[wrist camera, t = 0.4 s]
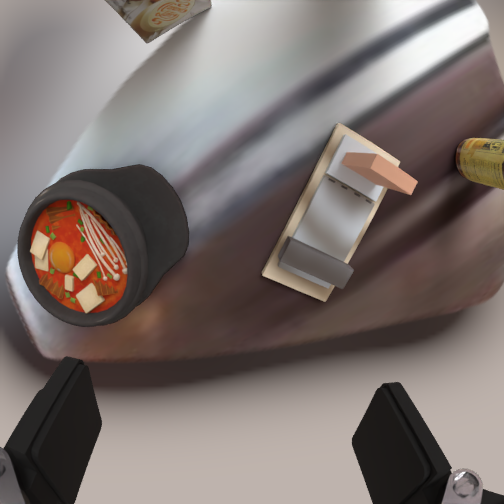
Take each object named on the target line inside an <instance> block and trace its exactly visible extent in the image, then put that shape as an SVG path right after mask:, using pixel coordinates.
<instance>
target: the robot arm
mask: <svg viewBox="0 0 504 504" xmlns="http://www.w3.org/2000/svg"><path fill="white" fill-rule="evenodd" d="M101 426H102V420H101V416H100V412H99V409H98V405H97V401H96V397H95V394H94V390H93V385H92V381H91V377H90V372H89V368H88V366H86V365H84V362H83V361H82V360H80V359H76V358H72V357H68V356H66V357H64V359H63V360H62V361H61V363H60V364H59V366H58V367H57V369H56V370H55V372H54V373H53V374H52V376H51V378H50V379H49V381H48V382H47V383H46V385H45V387H44V388H43V389H42V390H40V391H39V392H38V393H37V394H36V396H35V397H34V399H33V401H32V402H31V404H30V405H29V407H28V408H27V410H26V412H25V413H24V415H23V416H22V418H21V420H20V421H19V423H18V425H17V426H16V428H15V430H14V431H13V433H12V435H11V436H10V438H9V440H8V442H7V443H6V445H5V447H4V449H3V448H1V447H0V504H74V503H75V500H76V497H77V494H78V491H79V488H80V485H81V482H82V479H83V476H84V474H85V471H86V467H87V465H88V462H89V460H90V457H91V454H92V451H93V449H94V446H95V443H96V441H97V438H98V435H99V433H100V430H101ZM352 446H353V449H354V452H355V454H356V457H357V460H358V463H359V466H360V468H361V471H362V474H363V477H364V479H365V482H366V485H367V488H368V491H369V494H370V497H371V500H372V502H373V504H504V495H500V494H497V493H494V492H490V491H487V490H484V489H483V483H482V480H481V478H480V477H479V475H478V474H476V473H475V472H474V471H472V470H470V469H464V468H463V469H458V470H456V471H454V472H453V473H451V471H450V469H451V468H452V467H451V466H450V464H449V462H448V460H447V459H446V457H445V455H444V453H443V452H442V450H441V448H440V447H439V445H438V443H437V441H436V440H435V438H434V436H433V435H432V433H431V431H430V430H429V428H428V426H427V425H426V423H425V421H424V420H423V418H422V417H421V415H420V413H419V412H418V410H417V408H416V407H415V405H414V404H413V402H412V400H411V399H410V397H409V396H408V394H407V392H406V391H405V389H404V388H403V386H402V385H401V383H399V382H394V383H384V384H382V386H381V387H380V388H378V389H377V390H376V392H375V394H374V397H373V398H372V400H371V403H370V405H369V407H368V409H367V411H366V413H365V415H364V417H363V419H362V420H361V422H360V424H359V426H358V428H357V430H356V432H355V434H354V435H353V438H352Z"/></svg>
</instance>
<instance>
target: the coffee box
mask: <svg viewBox="0 0 504 504" xmlns="http://www.w3.org/2000/svg"><path fill="white" fill-rule="evenodd" d="M105 1H106V2H107V3H108V4H109V5H110V6H111V7H112V8H113V9H114V10H115V11H116V12H117V13H118V14H119V15H120V16H121V17H122V18H123V19H124V20H125V21H126V22H127V23H128V24H129V25H130V26H131V28H132V29H133V30H134V31H135V32H136V33H137V34H138V35H139V36H140V37H141V38H142V39H143V40H144V41H145V42H146V43H149V42H151V41H152V40H154V39H156V38H157V37H159V36H160V35H162V34H164V33H165V32H167V31H169V30H170V29H172V28H174V27H175V26H177V25H179V24H181V23H182V22H184V21H186V20H188V19H189V18H191V17H193V16H195V15H197V14H199V13H201V12H202V11H204V10H206V9H208V8H210V7H211V6H212V5H211V0H105Z"/></svg>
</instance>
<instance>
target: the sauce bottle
mask: <svg viewBox="0 0 504 504" xmlns="http://www.w3.org/2000/svg"><path fill="white" fill-rule="evenodd" d="M456 165H457V168H458V171H459V172H460V174H461V175H462V176H463V177H464V178H466V179H469V180H470V181H473V182H477V183H481V184H484V185H488V186H492V187H496V188H499V189H503V190H504V140H499V139H484V138H470V139H466V140H464V141H462V142H461V143H460V144H459V145H458V147H457V152H456Z"/></svg>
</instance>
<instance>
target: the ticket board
mask: <svg viewBox="0 0 504 504" xmlns="http://www.w3.org/2000/svg"><path fill="white" fill-rule="evenodd" d="M345 134H346V135H348V136H349V137H351V138H353V139H354V140H356V141H358V142H359V143H361V144H363V145H364V146H366V147H367V148H369V149H370V150H372V151H374V152H375V153H377V154H379V155H380V156H382V157H383V158H385V159H386V160H388V161H389V162H391V163H392V164H394V165H395V166H397V167H398V166H399V163H400V161H398V160H397V159H395V158H394V157H393V156H391V155H390V154H388V153H387V152H385V151H384V150H382V149H381V148H379V147H378V146H376V145H375V144H373V143H371V142H370V141H368V140H367V139H365V138H364V137H362V136H360V135H359V134H357V133H355V132H354V131H352V130H351V129H349V128H347V127H346V126H344V125H342V124H340V123H338V124H337V125H336V127H335V129H334V131H333V133H332V135H331V137H330V139H329V141H328V143H327V145H326V147H325V149H324V151H323V153H322V155H321V157H320V159H319V161H318V163H317V165H316V167H315V169H314V171H313V173H312V175H311V177H310V179H309V181H308V183H307V185H306V187H305V189H304V191H303V193H302V195H301V197H300V199H299V201H298V203H297V205H296V207H295V209H294V210H293V212H292V214H291V216H290V218H289V220H288V222H287V224H286V226H285V228H284V230H283V232H282V234H281V236H280V238H279V240H278V242H277V244H276V246H275V248H274V249H273V251H272V253H271V255H270V257H269V259H268V261H267V263H266V265H265V267H264V269H263V271H262V276H265V277H267V278H269V279H272V280H274V281H276V282H279V283H281V284H284V285H286V286H288V287H291V288H293V289H295V290H298V291H300V292H303V293H305V294H307V295H310V296H312V297H315V298H317V299H319V300H322V301H324V302H326V300H327V298H328V297H329V295H330V293H331V292H332V290H333V288H334V287H335V286H337V287H339V288H341V289H343V288H344V287H345V285H346V283H347V281H348V280H349V278H350V276H351V275H352V273H353V271H354V270H353V269H352V268H351V267H350V265H349V264H348V262H349V261H350V259H351V257H352V255H353V253H354V252H355V250H356V248H357V246H358V244H359V243H360V241H361V239H362V237H363V235H364V233H365V231H366V230H367V228H368V226H369V224H370V222H371V220H372V218H373V216H374V214H375V212H376V210H377V208H378V206H379V205H380V203H381V201H382V199H383V197H384V195H385V193H386V191H387V189H388V188H386V187H383V189H382V191H381V193H380V195H379V197H378V199H377V201H373V200H372V199H370V198H368V197H367V196H365V195H363V194H362V193H360V192H358V191H356V190H355V189H353V188H351V187H350V186H348V185H346V184H344V183H343V182H341V181H339V180H337V179H335V178H334V177H332V176H330V175H328V174H326V173H325V171H326V169H327V167H328V165H329V163H330V161H331V159H332V157H333V155H334V153H335V151H336V149H337V147H338V145H339V143H340V141H341V139H342V137H343V135H345Z"/></svg>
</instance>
